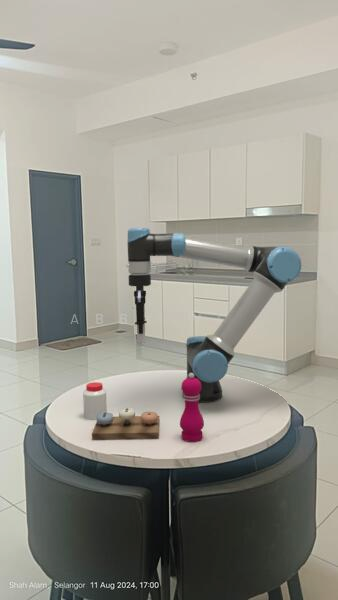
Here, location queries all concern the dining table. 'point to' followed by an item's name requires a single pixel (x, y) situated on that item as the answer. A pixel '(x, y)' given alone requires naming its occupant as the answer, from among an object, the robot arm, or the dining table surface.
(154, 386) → the dining table surface
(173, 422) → the dining table surface
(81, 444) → the dining table surface
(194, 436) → the pepper mill
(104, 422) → the button
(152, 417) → the button
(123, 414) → the button
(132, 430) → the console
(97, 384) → the pill bottle
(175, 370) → the dining table surface
